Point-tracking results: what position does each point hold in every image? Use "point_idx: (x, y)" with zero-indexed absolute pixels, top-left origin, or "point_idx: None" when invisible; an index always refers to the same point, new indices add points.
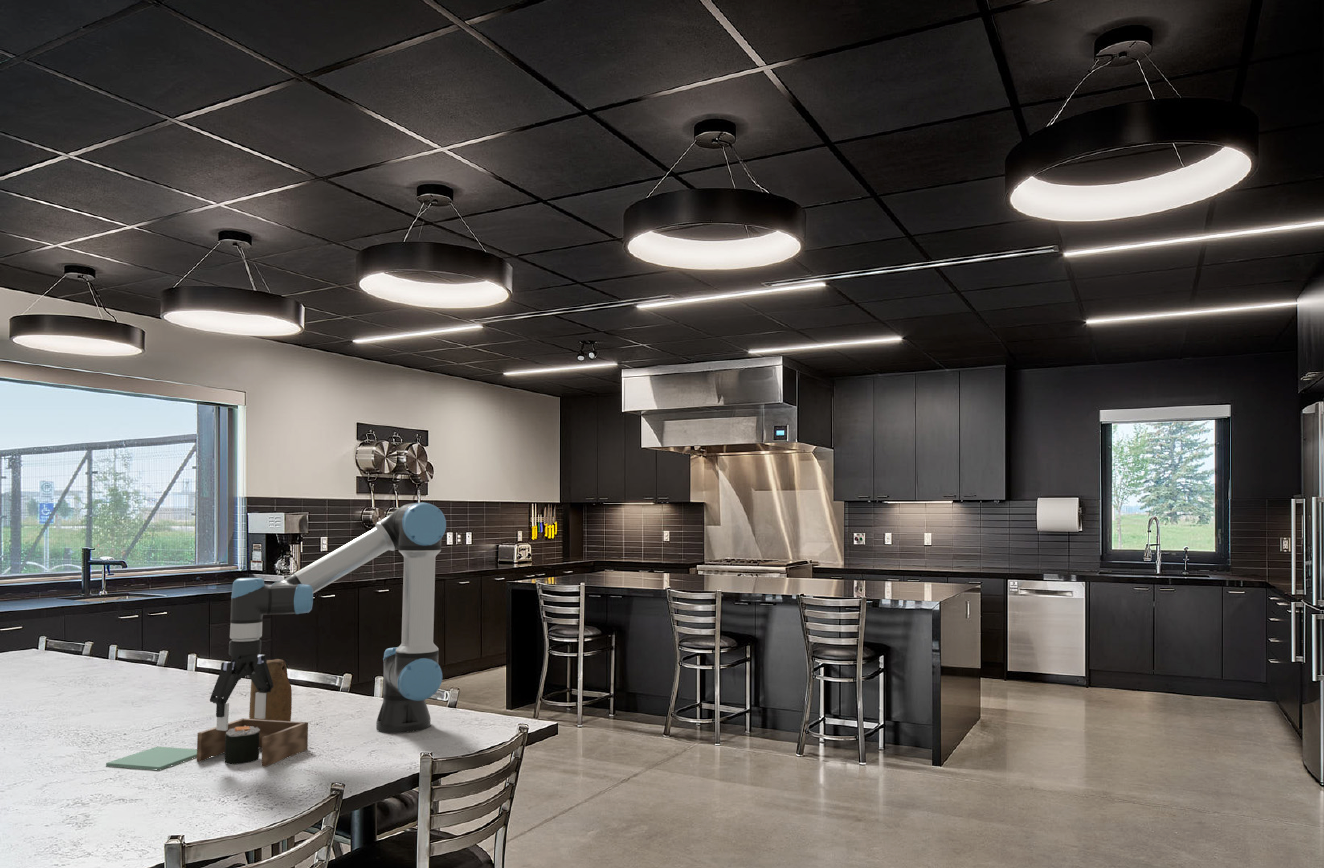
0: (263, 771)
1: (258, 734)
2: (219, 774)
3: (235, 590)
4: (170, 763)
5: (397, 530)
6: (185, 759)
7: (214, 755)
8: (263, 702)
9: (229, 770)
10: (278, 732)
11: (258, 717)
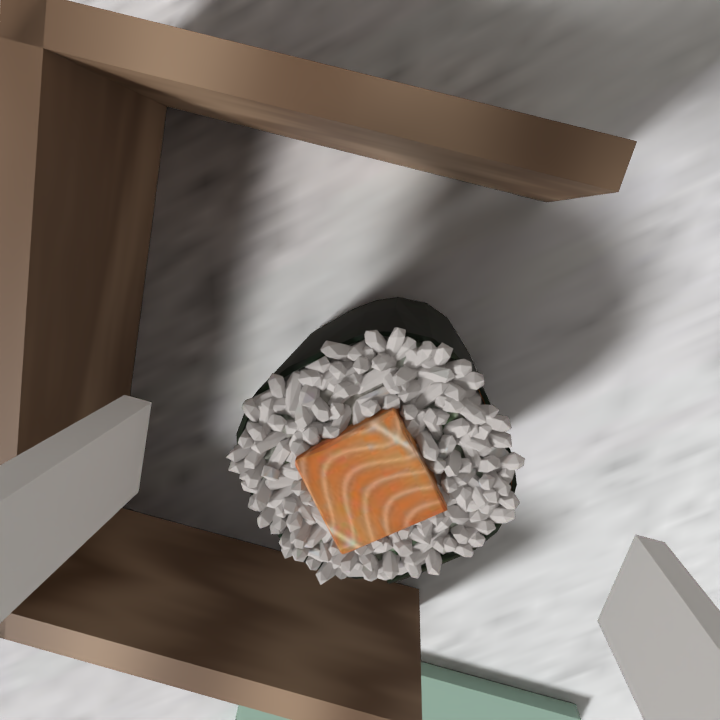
0: (673, 131)
1: (383, 327)
2: (699, 385)
3: None
4: (508, 699)
5: None
6: None
7: None
8: (40, 482)
9: (615, 365)
10: (431, 110)
11: (139, 456)
